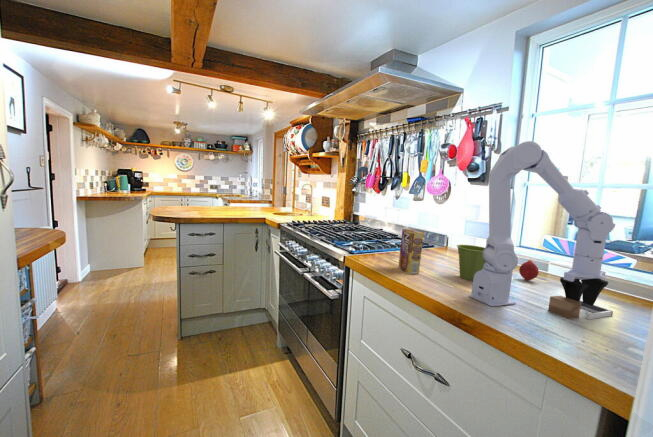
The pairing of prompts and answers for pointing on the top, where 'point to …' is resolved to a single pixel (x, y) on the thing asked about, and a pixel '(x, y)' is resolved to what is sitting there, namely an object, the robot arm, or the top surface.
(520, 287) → the top surface
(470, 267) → the plant pot
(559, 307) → the walnut block
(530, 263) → the pomegranate
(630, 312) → the top surface
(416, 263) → the candy box
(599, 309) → the channel
